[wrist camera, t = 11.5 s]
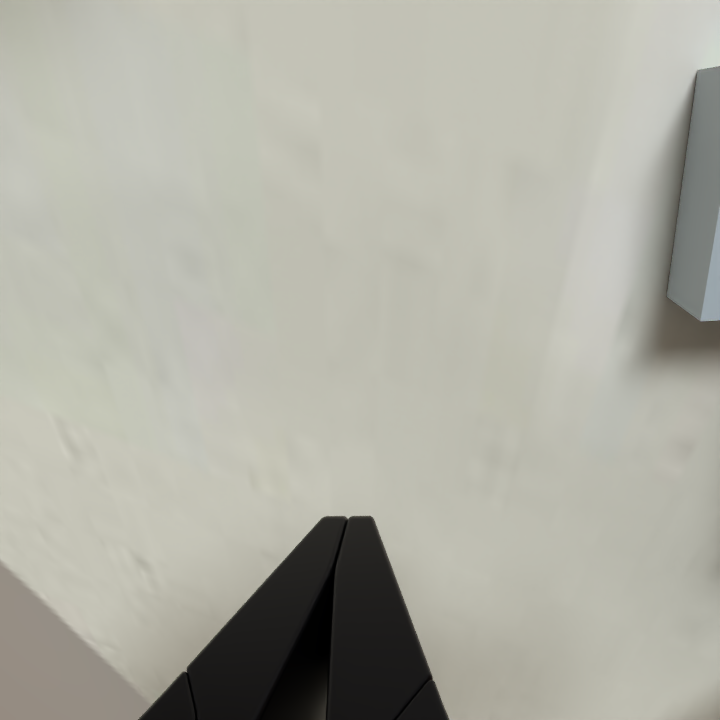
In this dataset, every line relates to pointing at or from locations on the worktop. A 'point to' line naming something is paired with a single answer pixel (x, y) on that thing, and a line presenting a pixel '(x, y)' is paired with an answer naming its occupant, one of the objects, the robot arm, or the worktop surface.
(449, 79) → the worktop surface
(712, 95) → the pale blue eraser
